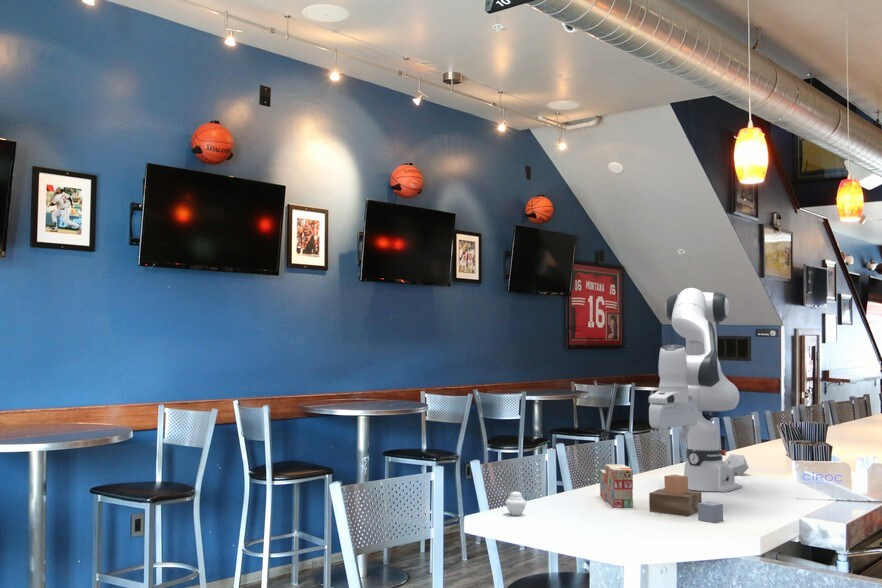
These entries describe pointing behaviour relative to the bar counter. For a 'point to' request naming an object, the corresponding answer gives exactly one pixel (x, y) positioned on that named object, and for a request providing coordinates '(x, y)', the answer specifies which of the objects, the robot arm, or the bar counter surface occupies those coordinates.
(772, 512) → the bar counter surface
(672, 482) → the rust cube
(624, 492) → the stack of blocks
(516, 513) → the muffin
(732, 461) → the die
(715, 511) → the grey cube
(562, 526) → the bar counter surface
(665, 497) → the walnut block
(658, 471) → the bar counter surface
